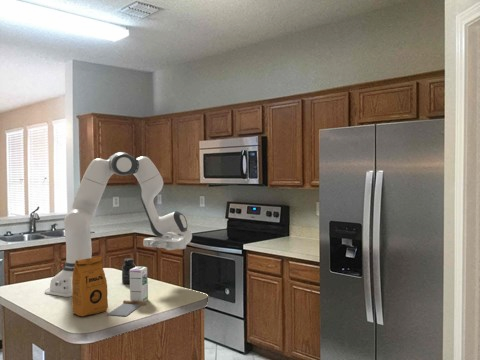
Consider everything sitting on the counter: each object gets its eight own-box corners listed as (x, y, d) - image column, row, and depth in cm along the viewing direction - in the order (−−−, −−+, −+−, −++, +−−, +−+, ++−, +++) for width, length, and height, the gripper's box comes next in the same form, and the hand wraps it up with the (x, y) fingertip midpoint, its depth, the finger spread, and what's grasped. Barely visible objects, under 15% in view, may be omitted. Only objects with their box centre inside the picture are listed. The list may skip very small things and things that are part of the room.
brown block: (123, 303, 174) (123, 300, 174) (124, 302, 175) (124, 300, 175) (145, 305, 172) (145, 302, 172) (146, 304, 173) (146, 301, 173)
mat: (107, 315, 160) (107, 314, 160) (123, 304, 173) (123, 303, 173) (125, 316, 158) (125, 315, 158) (140, 305, 171) (140, 304, 171)
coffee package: (110, 312, 164) (110, 257, 163) (79, 320, 155) (79, 262, 155) (100, 306, 171) (99, 253, 170) (69, 313, 162) (69, 258, 162)
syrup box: (142, 303, 174) (142, 269, 174) (129, 302, 175) (129, 269, 175) (148, 299, 179) (147, 266, 179) (135, 298, 181) (135, 266, 180)
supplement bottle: (138, 282, 207) (138, 259, 206) (126, 285, 202) (126, 261, 201) (131, 280, 211) (131, 257, 211) (119, 283, 206) (119, 259, 206)
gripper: (152, 233, 205) (135, 237, 192) (188, 235, 197) (173, 240, 184) (152, 245, 205) (135, 251, 192) (188, 248, 197) (173, 254, 184)
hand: (154, 245), depth 188 cm, fingers open, 3 cm apart
